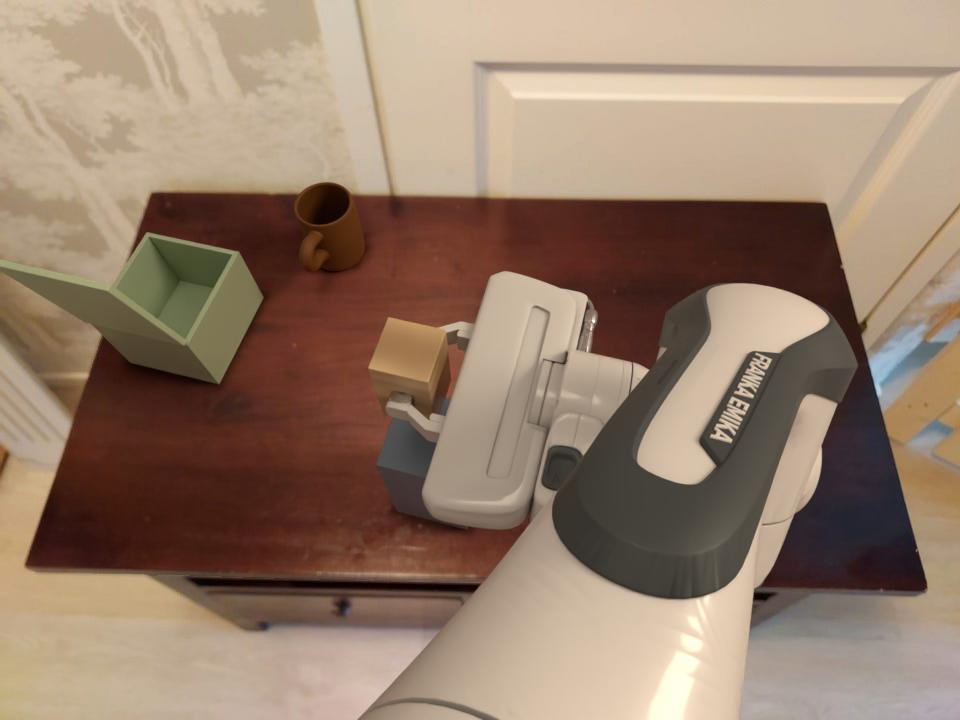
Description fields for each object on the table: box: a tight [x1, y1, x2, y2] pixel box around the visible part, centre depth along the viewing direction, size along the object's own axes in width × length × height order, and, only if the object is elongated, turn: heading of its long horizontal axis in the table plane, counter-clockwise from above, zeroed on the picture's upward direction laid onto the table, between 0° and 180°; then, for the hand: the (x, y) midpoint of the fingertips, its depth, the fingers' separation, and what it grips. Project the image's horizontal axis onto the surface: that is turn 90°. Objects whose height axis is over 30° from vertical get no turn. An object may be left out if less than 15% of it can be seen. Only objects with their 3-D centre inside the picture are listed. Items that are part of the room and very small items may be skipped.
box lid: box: [0, 258, 186, 346], centre depth 65 cm, size 14×12×1 cm
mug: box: [293, 181, 366, 273], centre depth 84 cm, size 12×8×9 cm, turn 167°
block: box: [367, 316, 452, 420], centre depth 50 cm, size 4×4×8 cm
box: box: [90, 232, 264, 385], centre depth 79 cm, size 13×12×10 cm
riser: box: [375, 397, 469, 531], centre depth 66 cm, size 8×8×15 cm
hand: (400, 369), depth 50 cm, fingers closed on block, 4 cm apart
